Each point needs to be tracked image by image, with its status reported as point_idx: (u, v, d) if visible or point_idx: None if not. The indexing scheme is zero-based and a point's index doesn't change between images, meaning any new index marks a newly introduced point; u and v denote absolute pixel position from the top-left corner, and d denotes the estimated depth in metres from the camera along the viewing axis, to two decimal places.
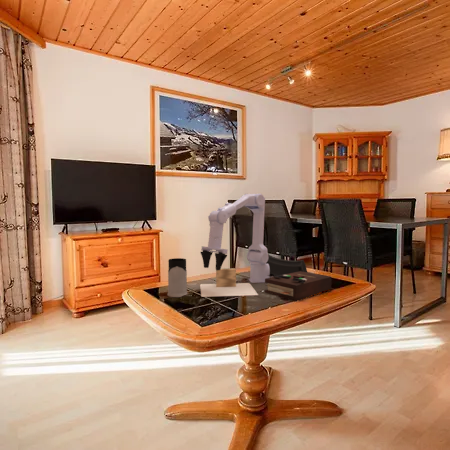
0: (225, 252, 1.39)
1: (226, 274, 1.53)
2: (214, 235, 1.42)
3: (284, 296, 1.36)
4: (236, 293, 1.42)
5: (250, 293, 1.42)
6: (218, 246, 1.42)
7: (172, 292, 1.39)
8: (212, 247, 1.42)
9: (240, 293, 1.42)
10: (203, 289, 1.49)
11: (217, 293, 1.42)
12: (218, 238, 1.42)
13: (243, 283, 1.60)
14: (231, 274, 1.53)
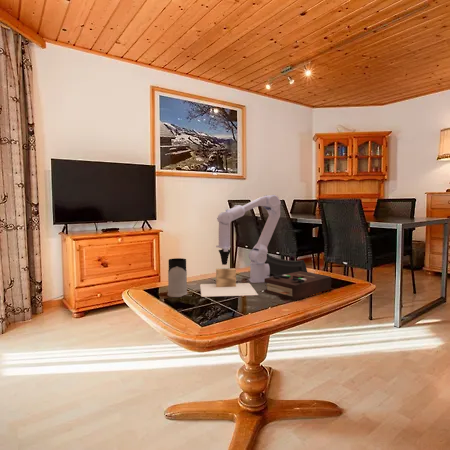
0: (225, 250, 1.54)
1: (226, 274, 1.53)
2: (220, 235, 1.58)
3: (283, 296, 1.36)
4: (236, 293, 1.42)
5: (250, 293, 1.42)
6: (224, 244, 1.58)
7: (172, 292, 1.39)
8: (219, 245, 1.59)
9: (240, 293, 1.42)
10: (203, 289, 1.49)
11: (217, 293, 1.42)
12: (223, 237, 1.58)
13: (243, 283, 1.60)
14: (231, 274, 1.53)
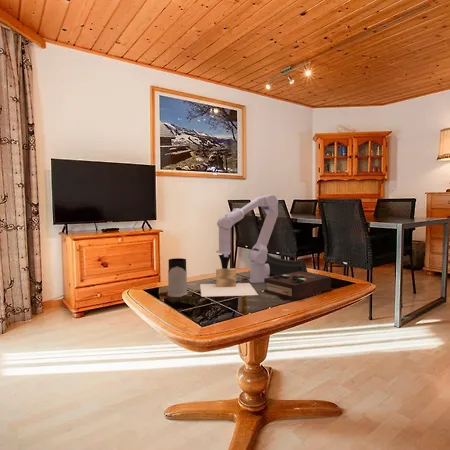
0: (225, 255, 1.53)
1: (226, 274, 1.53)
2: (221, 240, 1.57)
3: (283, 296, 1.37)
4: (236, 293, 1.42)
5: (250, 293, 1.42)
6: (224, 249, 1.57)
7: (172, 292, 1.39)
8: (219, 251, 1.58)
9: (240, 293, 1.42)
10: (203, 289, 1.49)
11: (217, 293, 1.42)
12: (223, 242, 1.57)
13: (243, 283, 1.60)
14: (231, 274, 1.53)
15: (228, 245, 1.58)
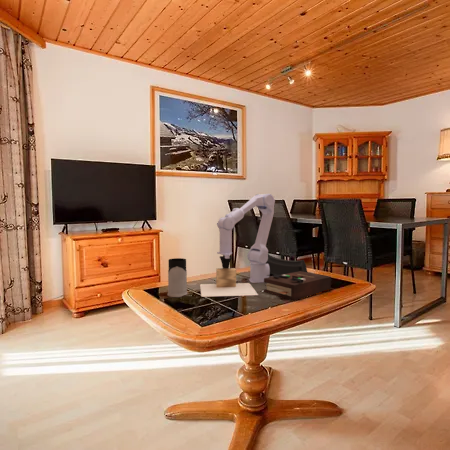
0: (226, 257, 1.48)
1: (226, 275, 1.52)
2: (223, 241, 1.53)
3: (282, 296, 1.37)
4: (236, 293, 1.42)
5: (250, 293, 1.42)
6: (225, 251, 1.53)
7: (172, 292, 1.39)
8: (220, 252, 1.54)
9: (240, 293, 1.42)
10: (203, 289, 1.49)
11: (217, 293, 1.42)
12: (224, 243, 1.52)
13: (243, 283, 1.60)
14: (231, 275, 1.53)
15: (229, 246, 1.53)
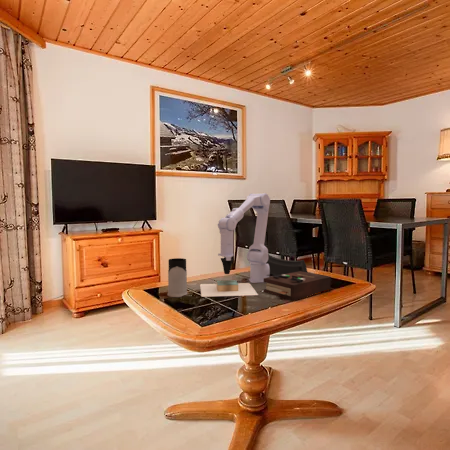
0: (228, 259, 1.43)
1: None
2: (225, 242, 1.47)
3: (282, 296, 1.37)
4: (236, 293, 1.42)
5: (250, 293, 1.42)
6: (226, 252, 1.47)
7: (172, 292, 1.39)
8: (221, 254, 1.48)
9: (240, 293, 1.42)
10: (203, 289, 1.49)
11: (217, 293, 1.42)
12: (225, 245, 1.47)
13: (243, 283, 1.60)
14: None
15: (231, 248, 1.48)
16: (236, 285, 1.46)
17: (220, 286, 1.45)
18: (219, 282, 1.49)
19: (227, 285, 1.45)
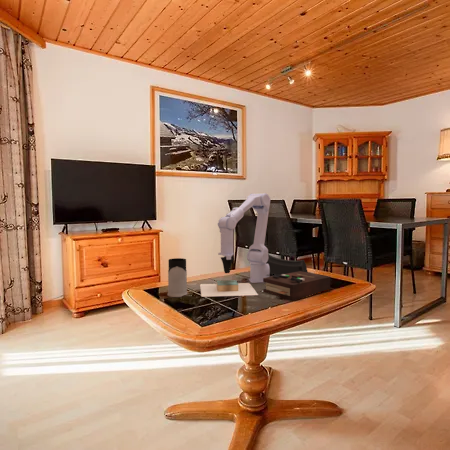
0: (228, 258, 1.43)
1: None
2: (225, 241, 1.47)
3: (281, 295, 1.37)
4: (236, 293, 1.42)
5: (250, 293, 1.42)
6: (227, 252, 1.47)
7: (172, 292, 1.39)
8: (221, 253, 1.48)
9: (240, 293, 1.42)
10: (203, 289, 1.49)
11: (217, 293, 1.42)
12: (225, 244, 1.47)
13: (243, 283, 1.60)
14: None
15: (231, 247, 1.48)
16: (236, 285, 1.46)
17: (220, 286, 1.45)
18: (219, 282, 1.49)
19: (227, 285, 1.45)
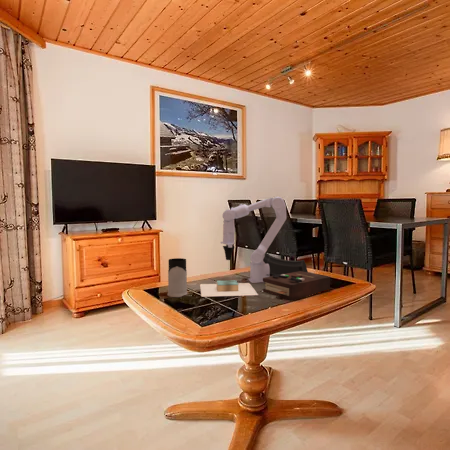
0: (229, 246, 1.61)
1: None
2: (223, 231, 1.67)
3: (280, 295, 1.37)
4: (236, 293, 1.42)
5: (250, 293, 1.42)
6: (228, 241, 1.65)
7: (172, 292, 1.39)
8: (223, 242, 1.66)
9: (240, 293, 1.42)
10: (203, 289, 1.49)
11: (217, 293, 1.42)
12: (227, 234, 1.65)
13: (243, 283, 1.60)
14: None
15: (232, 236, 1.66)
16: (236, 285, 1.46)
17: (220, 286, 1.45)
18: (219, 282, 1.49)
19: (227, 285, 1.45)
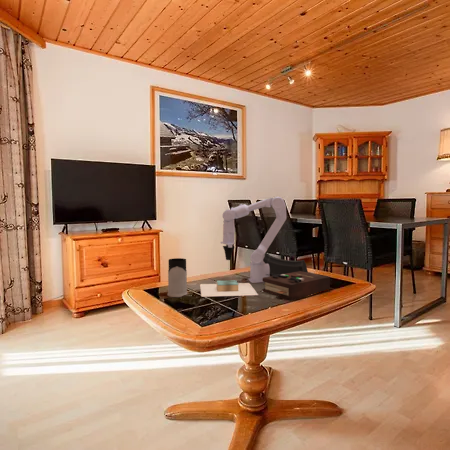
0: (229, 246, 1.61)
1: None
2: (223, 231, 1.67)
3: (280, 295, 1.37)
4: (236, 293, 1.42)
5: (250, 293, 1.42)
6: (228, 241, 1.65)
7: (172, 292, 1.39)
8: (223, 242, 1.66)
9: (240, 293, 1.42)
10: (203, 289, 1.49)
11: (217, 293, 1.42)
12: (227, 234, 1.65)
13: (243, 283, 1.60)
14: None
15: (232, 236, 1.66)
16: (236, 285, 1.46)
17: (220, 286, 1.45)
18: (219, 282, 1.49)
19: (227, 285, 1.45)
